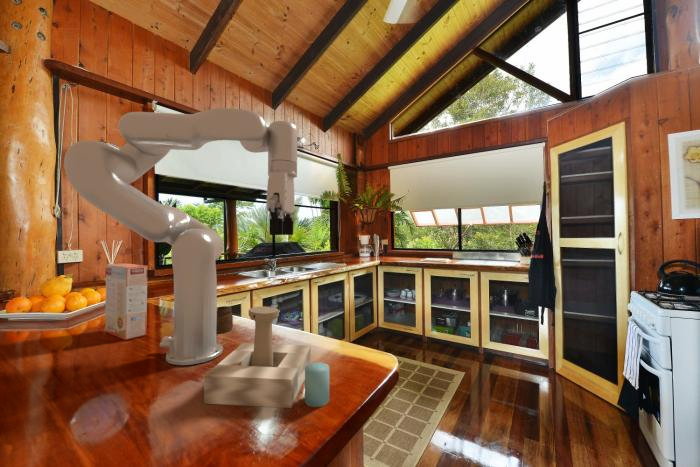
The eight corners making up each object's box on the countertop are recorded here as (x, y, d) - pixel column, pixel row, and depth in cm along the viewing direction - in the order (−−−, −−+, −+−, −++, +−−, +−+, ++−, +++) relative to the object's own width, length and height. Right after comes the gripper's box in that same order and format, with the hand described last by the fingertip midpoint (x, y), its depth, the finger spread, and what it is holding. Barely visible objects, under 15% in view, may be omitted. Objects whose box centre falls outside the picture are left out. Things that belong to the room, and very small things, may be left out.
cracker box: (148, 335, 89) (148, 265, 89) (124, 341, 84) (124, 266, 84) (127, 327, 96) (127, 262, 96) (104, 332, 91) (104, 263, 91)
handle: (264, 392, 57) (265, 314, 57) (243, 383, 61) (243, 310, 61) (283, 382, 61) (283, 309, 61) (261, 374, 65) (262, 305, 65)
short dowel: (302, 406, 53) (302, 372, 53) (307, 392, 58) (307, 361, 58) (327, 407, 53) (327, 373, 53) (330, 394, 57) (331, 362, 57)
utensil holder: (228, 333, 91) (228, 294, 91) (207, 333, 91) (207, 294, 91) (235, 327, 97) (236, 290, 97) (216, 327, 97) (216, 290, 97)
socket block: (204, 403, 54) (204, 375, 54) (242, 364, 70) (242, 343, 70) (291, 408, 52) (291, 379, 52) (310, 367, 68) (310, 345, 68)
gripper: (279, 176, 88) (278, 234, 88) (256, 162, 71) (255, 234, 71) (304, 176, 88) (303, 234, 88) (287, 162, 70) (286, 235, 70)
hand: (282, 234), depth 79 cm, fingers open, 9 cm apart
